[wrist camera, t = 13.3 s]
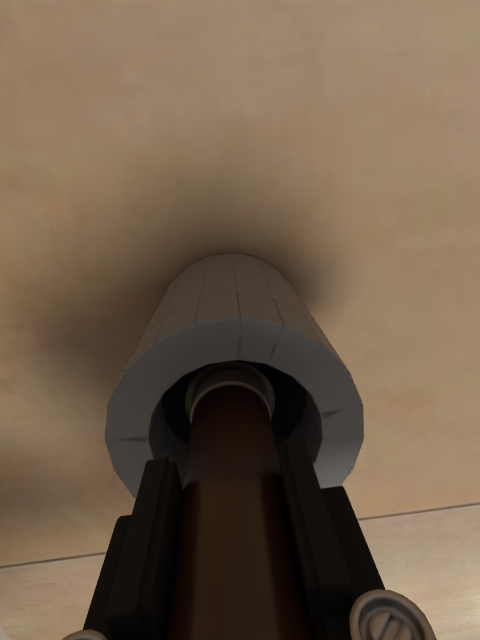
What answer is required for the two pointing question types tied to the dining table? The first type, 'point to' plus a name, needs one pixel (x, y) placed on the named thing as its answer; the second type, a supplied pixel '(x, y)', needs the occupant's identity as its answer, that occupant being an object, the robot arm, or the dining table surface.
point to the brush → (234, 517)
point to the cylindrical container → (229, 345)
